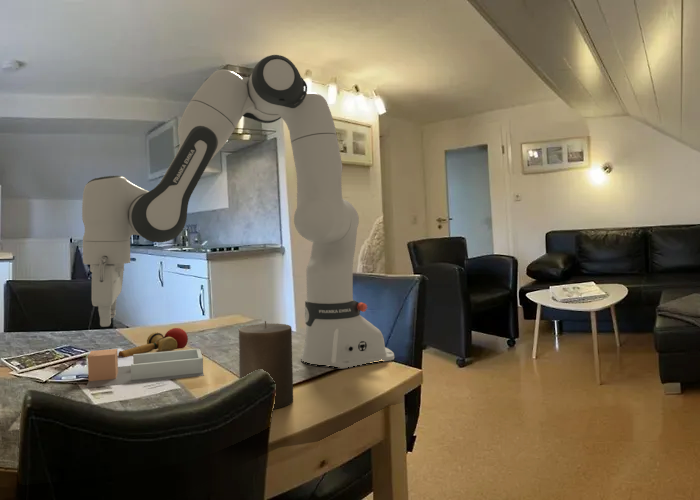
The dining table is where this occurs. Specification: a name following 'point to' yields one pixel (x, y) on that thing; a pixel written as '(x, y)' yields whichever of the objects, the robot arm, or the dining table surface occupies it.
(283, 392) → the pillar candle
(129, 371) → the channel
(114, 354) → the terracotta block
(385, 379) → the dining table surface
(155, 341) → the kendama
